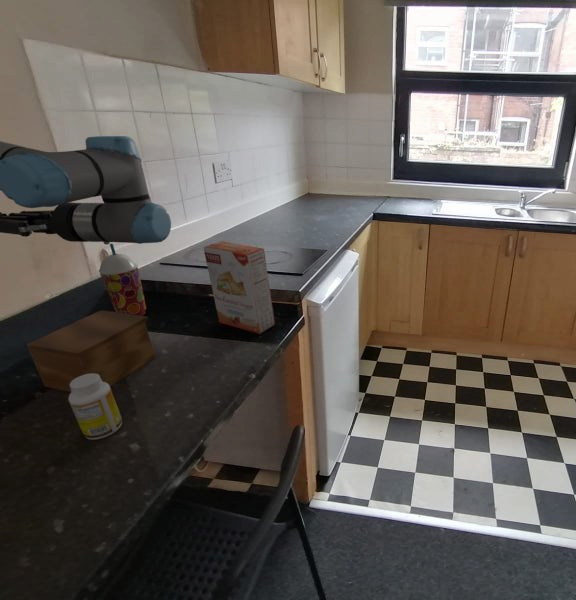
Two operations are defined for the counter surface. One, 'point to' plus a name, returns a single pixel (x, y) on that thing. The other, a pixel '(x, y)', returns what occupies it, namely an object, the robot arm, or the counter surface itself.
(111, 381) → the chest
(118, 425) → the supplement bottle
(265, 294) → the cracker box
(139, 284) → the smoothie
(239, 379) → the counter surface
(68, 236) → the robot arm
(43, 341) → the lid
